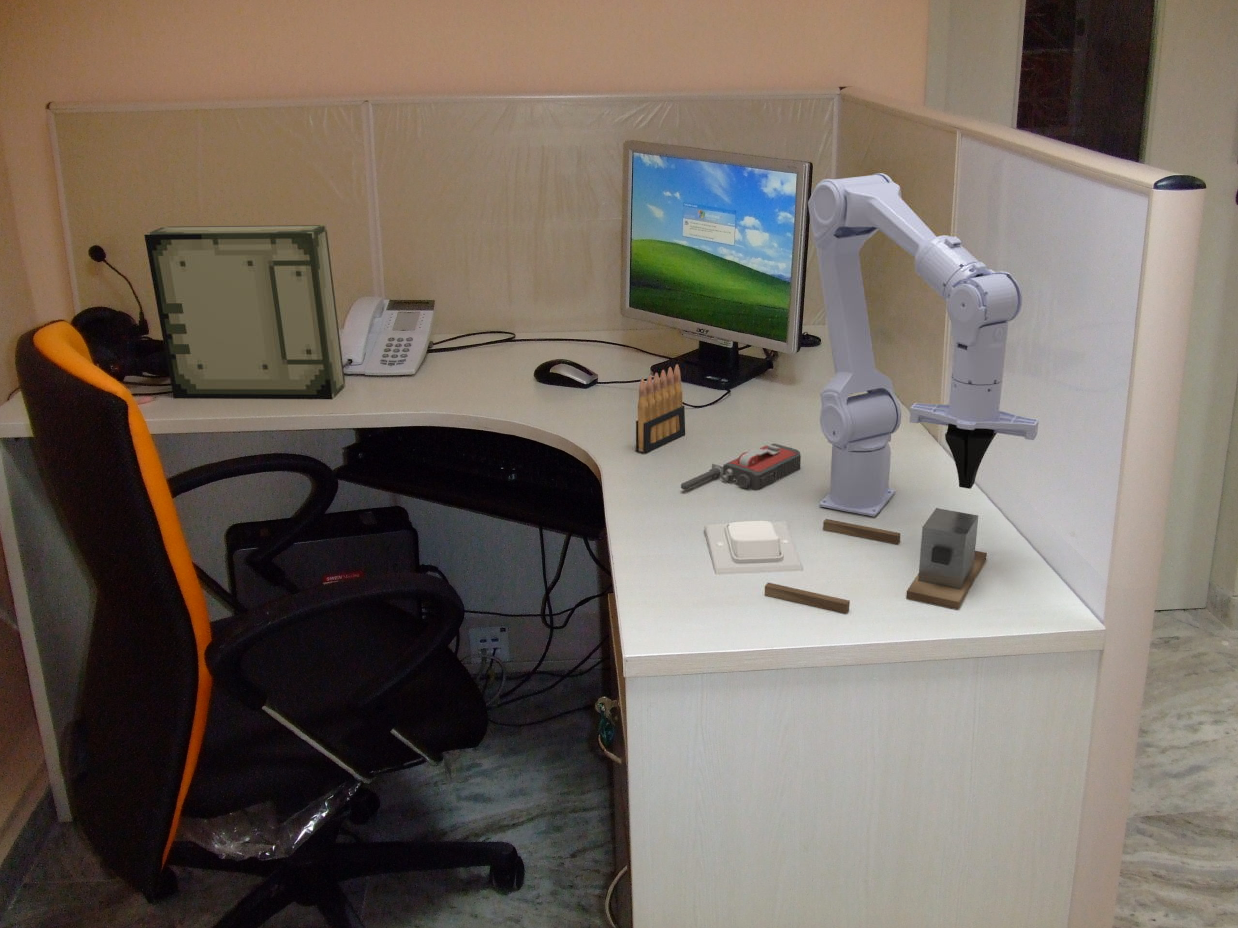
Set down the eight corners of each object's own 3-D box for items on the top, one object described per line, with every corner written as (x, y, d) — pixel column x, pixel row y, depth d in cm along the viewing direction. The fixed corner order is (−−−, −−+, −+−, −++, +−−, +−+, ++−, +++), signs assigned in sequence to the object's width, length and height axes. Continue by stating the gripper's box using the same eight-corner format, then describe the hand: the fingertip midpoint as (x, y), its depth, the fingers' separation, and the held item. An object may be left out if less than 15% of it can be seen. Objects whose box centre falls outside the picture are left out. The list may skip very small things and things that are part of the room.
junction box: (932, 559, 141) (936, 507, 138) (973, 567, 139) (979, 514, 136) (916, 583, 135) (920, 529, 133) (959, 592, 133) (964, 537, 130)
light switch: (715, 554, 140) (704, 506, 151) (715, 584, 142) (704, 533, 153) (804, 551, 140) (786, 503, 152) (803, 580, 142) (785, 530, 153)
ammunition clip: (644, 454, 179) (643, 380, 174) (635, 452, 180) (633, 378, 176) (685, 434, 187) (685, 363, 182) (676, 432, 188) (675, 361, 183)
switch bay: (825, 526, 153) (825, 518, 152) (899, 541, 148) (900, 532, 148) (764, 594, 136) (764, 585, 135) (846, 613, 131) (846, 604, 131)
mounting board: (937, 550, 145) (938, 543, 145) (986, 559, 143) (987, 552, 142) (906, 598, 134) (906, 590, 134) (958, 609, 131) (958, 601, 131)
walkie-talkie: (761, 455, 179) (676, 493, 165) (761, 428, 177) (676, 465, 164) (808, 468, 173) (724, 510, 160) (809, 441, 171) (724, 480, 158)
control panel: (345, 386, 215) (326, 225, 204) (332, 399, 208) (311, 233, 197) (191, 385, 218) (163, 226, 207) (173, 398, 211) (144, 234, 200)
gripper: (905, 379, 135) (898, 486, 140) (1034, 396, 128) (1021, 507, 133) (922, 363, 140) (914, 466, 145) (1046, 378, 134) (1033, 486, 139)
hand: (966, 485), depth 140 cm, fingers closed
